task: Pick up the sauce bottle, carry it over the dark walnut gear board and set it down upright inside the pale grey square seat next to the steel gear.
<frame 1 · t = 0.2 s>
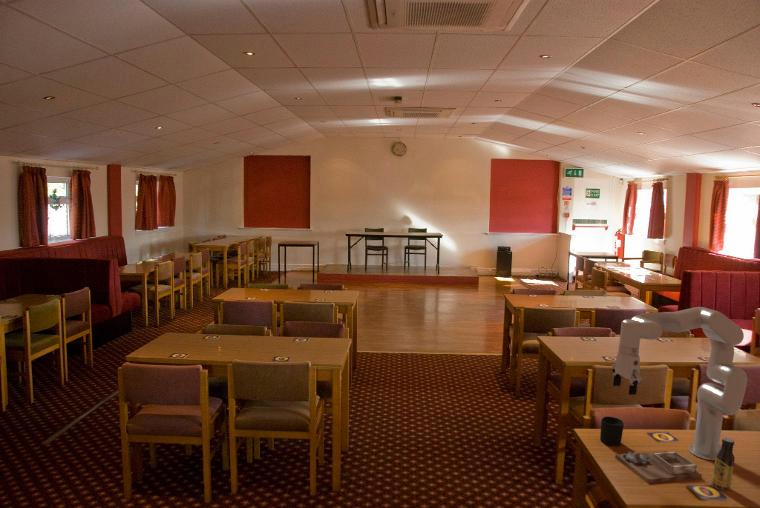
hand: (624, 389, 230), 31 cm above the table, tool pointing down, fingers open, 9 cm apart
sauce bottle: (720, 487, 217), on the table
pen holder: (610, 442, 252), on the table
gear board: (657, 467, 230), on the table
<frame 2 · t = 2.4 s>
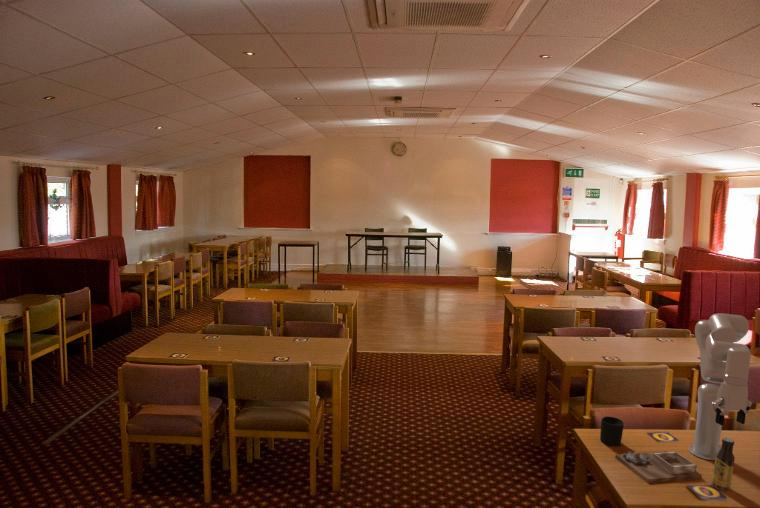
hand: (729, 423, 213), 26 cm above the table, tool pointing down, fingers open, 9 cm apart
nothing on the table moved.
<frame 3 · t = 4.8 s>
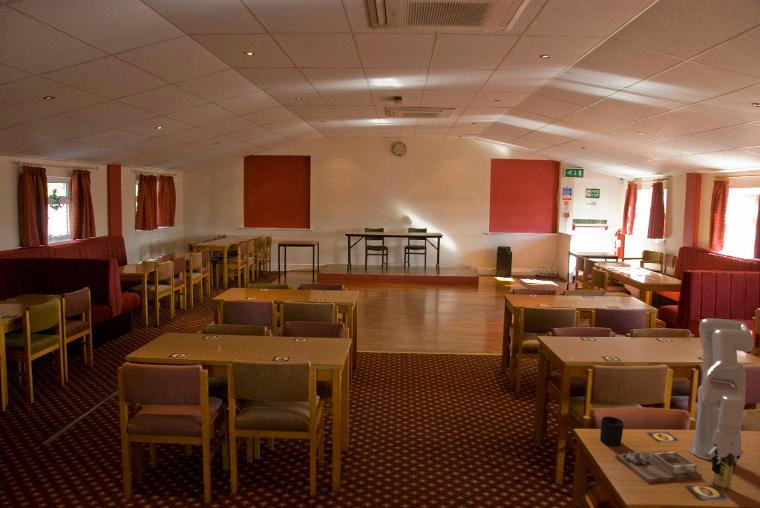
hand: (723, 471, 216), 7 cm above the table, tool pointing down, fingers closed on sauce bottle, 6 cm apart
sauce bottle: (720, 487, 217), on the table, touching gripper
everything else where it was.
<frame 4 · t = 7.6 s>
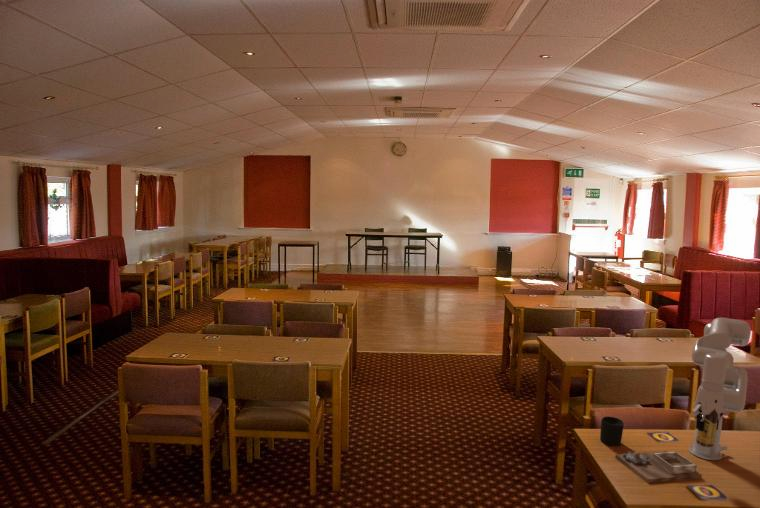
hand: (706, 428, 219), 21 cm above the table, tool pointing down, fingers closed on sauce bottle, 6 cm apart
sauce bottle: (704, 445, 220), point 14 cm above the table, touching gripper
everything else where it was.
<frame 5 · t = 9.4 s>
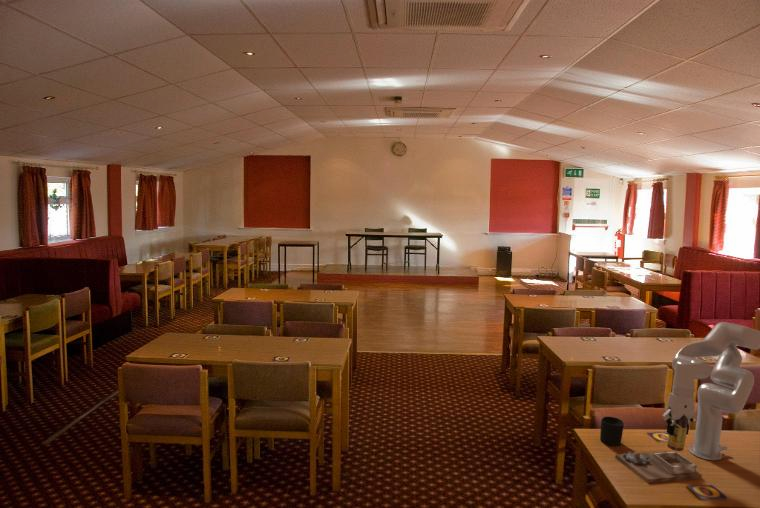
hand: (677, 433, 227), 16 cm above the table, tool pointing down, fingers closed on sauce bottle, 6 cm apart
sauce bottle: (675, 449, 228), point 9 cm above the table, touching gripper
everything else where it was.
when the fingers open (10 cm above the table, at t = 10.9 s): sauce bottle drops 2 cm, resting on gear board.
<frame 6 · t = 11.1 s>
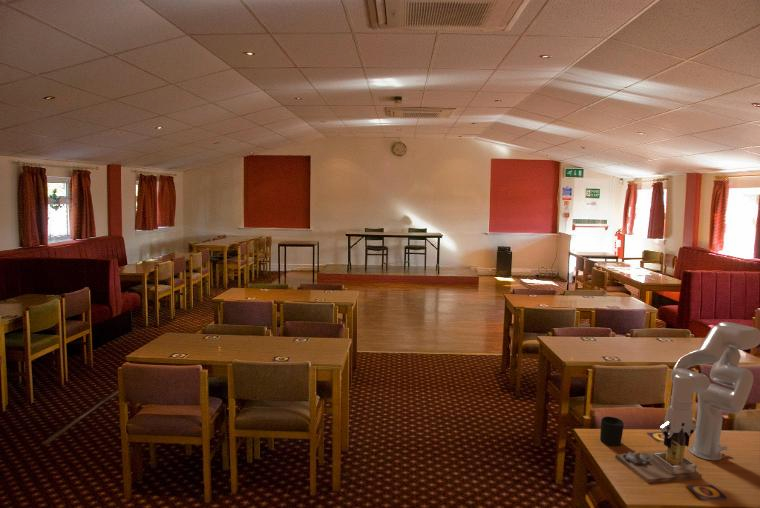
hand: (676, 445, 228), 10 cm above the table, tool pointing down, fingers open, 8 cm apart
sauce bottle: (673, 466, 229), point 1 cm above the table, touching gear board
everything else where it was.
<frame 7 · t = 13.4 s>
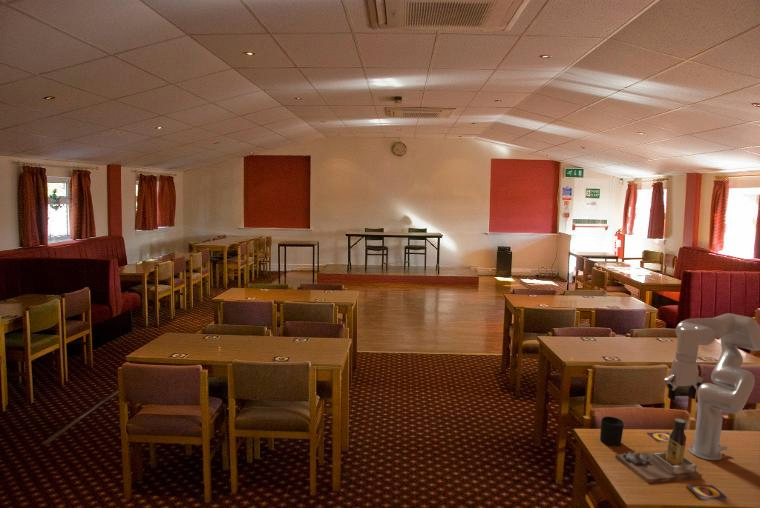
hand: (681, 398, 226), 30 cm above the table, tool pointing down, fingers open, 9 cm apart
nothing on the table moved.
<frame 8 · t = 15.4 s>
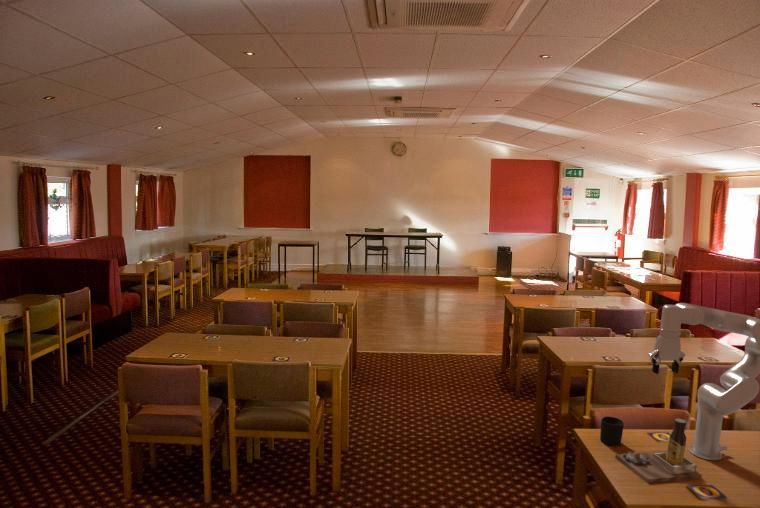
hand: (665, 372, 239), 36 cm above the table, tool pointing down, fingers open, 9 cm apart
nothing on the table moved.
at the end: sauce bottle 0.2 cm from the target spot on the gear board, point 1.3 cm above the gear board's base; sauce bottle tilted 0°; the gripper is holding nothing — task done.
